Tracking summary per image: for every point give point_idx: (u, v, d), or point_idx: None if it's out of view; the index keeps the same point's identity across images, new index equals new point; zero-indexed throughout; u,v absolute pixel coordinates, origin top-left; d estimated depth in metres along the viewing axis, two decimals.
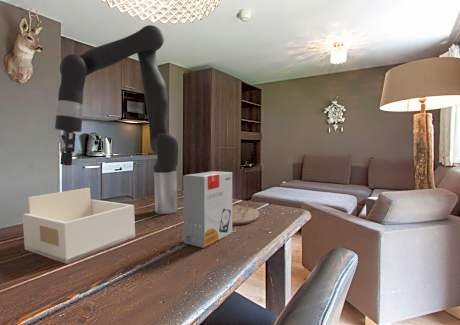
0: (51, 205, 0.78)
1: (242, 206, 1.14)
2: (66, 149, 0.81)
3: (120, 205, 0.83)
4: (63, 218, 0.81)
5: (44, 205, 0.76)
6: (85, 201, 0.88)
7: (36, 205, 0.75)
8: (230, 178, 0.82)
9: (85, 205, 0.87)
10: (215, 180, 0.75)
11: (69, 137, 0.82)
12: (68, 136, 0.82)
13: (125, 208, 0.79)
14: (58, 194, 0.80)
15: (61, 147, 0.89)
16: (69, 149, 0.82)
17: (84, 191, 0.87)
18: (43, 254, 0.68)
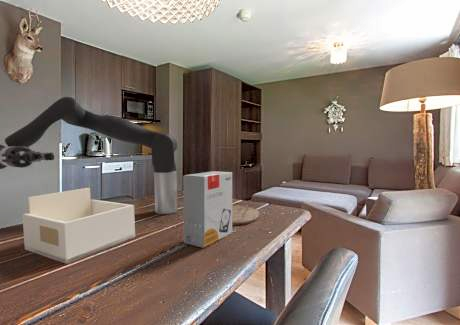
0: (51, 205, 0.78)
1: (242, 206, 1.14)
2: (12, 160, 0.82)
3: (120, 205, 0.83)
4: (63, 218, 0.81)
5: (44, 205, 0.76)
6: (85, 201, 0.88)
7: (36, 205, 0.75)
8: (230, 178, 0.82)
9: (85, 205, 0.87)
10: (215, 180, 0.75)
11: (4, 159, 0.83)
12: (3, 159, 0.83)
13: (125, 208, 0.79)
14: (58, 194, 0.80)
15: (39, 160, 0.90)
16: (12, 158, 0.82)
17: (84, 191, 0.87)
18: (43, 254, 0.68)
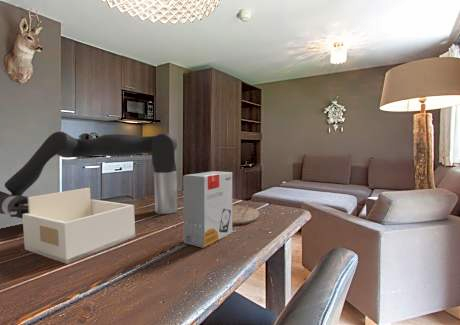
0: (51, 205, 0.78)
1: (242, 206, 1.14)
2: None
3: (120, 205, 0.83)
4: (63, 218, 0.81)
5: (44, 205, 0.76)
6: (85, 201, 0.88)
7: (36, 205, 0.75)
8: (230, 178, 0.82)
9: (85, 205, 0.87)
10: (215, 180, 0.75)
11: (15, 214, 0.85)
12: (14, 214, 0.85)
13: (125, 208, 0.79)
14: (58, 194, 0.80)
15: None
16: (27, 212, 0.86)
17: (84, 191, 0.87)
18: (43, 254, 0.68)
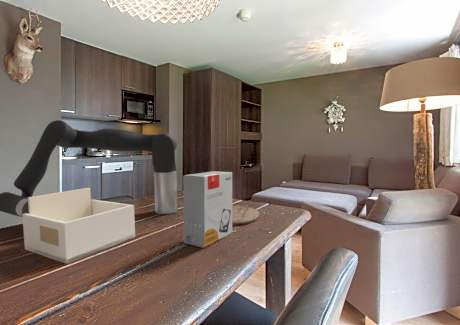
0: (51, 205, 0.78)
1: (242, 206, 1.14)
2: None
3: (120, 205, 0.83)
4: (63, 218, 0.81)
5: (44, 205, 0.76)
6: (86, 201, 0.87)
7: (36, 205, 0.74)
8: (230, 178, 0.82)
9: (85, 205, 0.87)
10: (215, 180, 0.75)
11: None
12: None
13: (125, 208, 0.79)
14: (58, 194, 0.80)
15: None
16: None
17: (84, 191, 0.87)
18: (43, 254, 0.68)
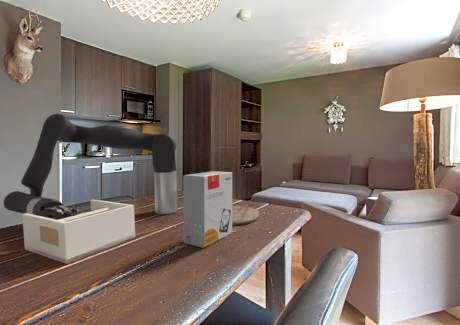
0: None
1: (242, 206, 1.14)
2: None
3: (120, 205, 0.83)
4: None
5: None
6: None
7: None
8: (230, 178, 0.82)
9: None
10: (215, 180, 0.75)
11: None
12: None
13: (125, 208, 0.79)
14: (79, 217, 0.75)
15: None
16: (53, 217, 0.78)
17: (104, 211, 0.83)
18: (43, 254, 0.68)
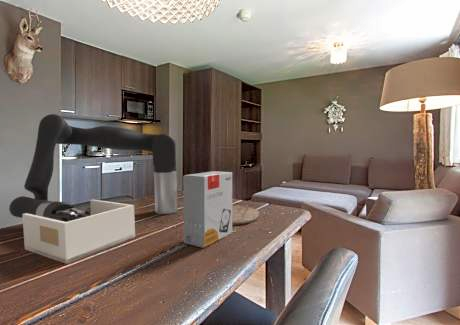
0: None
1: (242, 206, 1.14)
2: None
3: (120, 205, 0.83)
4: None
5: None
6: None
7: None
8: (230, 178, 0.82)
9: None
10: (215, 180, 0.75)
11: None
12: None
13: (125, 208, 0.79)
14: None
15: None
16: (67, 220, 0.75)
17: None
18: (43, 254, 0.68)
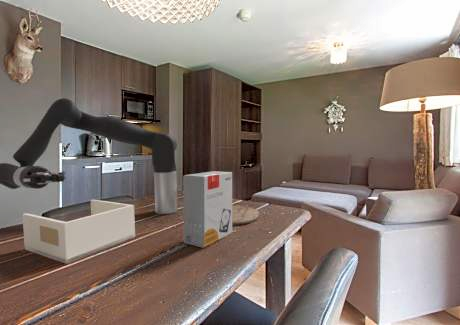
0: None
1: (242, 206, 1.14)
2: (41, 182, 0.80)
3: (120, 205, 0.83)
4: None
5: None
6: None
7: None
8: (230, 178, 0.82)
9: None
10: (215, 180, 0.75)
11: (28, 181, 0.80)
12: (27, 182, 0.80)
13: (125, 208, 0.79)
14: None
15: None
16: (41, 179, 0.80)
17: None
18: (43, 254, 0.68)
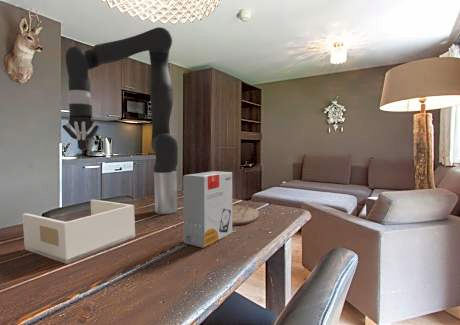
0: None
1: (242, 206, 1.14)
2: None
3: (120, 205, 0.83)
4: None
5: None
6: None
7: None
8: (230, 178, 0.82)
9: None
10: (215, 180, 0.75)
11: None
12: None
13: (125, 208, 0.79)
14: None
15: None
16: None
17: None
18: (43, 254, 0.68)
